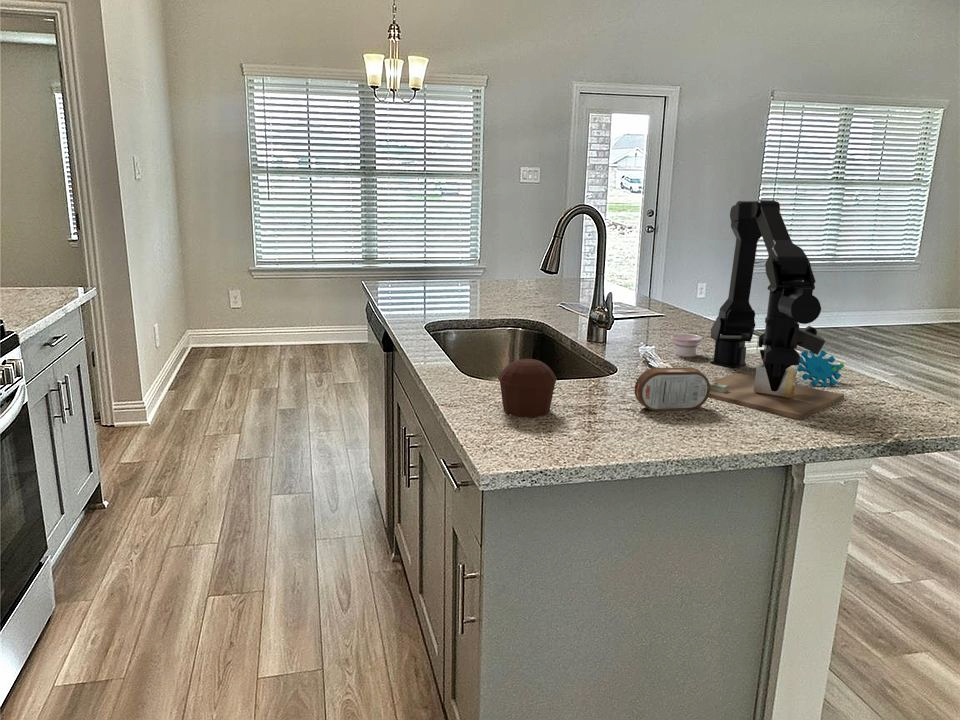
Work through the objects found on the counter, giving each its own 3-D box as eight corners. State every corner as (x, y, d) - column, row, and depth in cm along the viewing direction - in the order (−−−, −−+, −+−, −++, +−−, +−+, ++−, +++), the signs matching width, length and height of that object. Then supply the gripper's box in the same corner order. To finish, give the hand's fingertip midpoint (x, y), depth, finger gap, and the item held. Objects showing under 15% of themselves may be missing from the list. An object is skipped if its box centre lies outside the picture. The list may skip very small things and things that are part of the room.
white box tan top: (753, 391, 148) (756, 366, 146) (757, 388, 150) (760, 363, 149) (790, 398, 143) (793, 371, 142) (793, 395, 146) (797, 369, 145)
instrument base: (687, 393, 150) (688, 381, 150) (736, 376, 165) (738, 365, 164) (800, 420, 133) (801, 406, 133) (843, 399, 148) (845, 386, 147)
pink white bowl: (710, 366, 176) (712, 342, 174) (661, 363, 178) (663, 339, 176) (704, 356, 187) (707, 333, 186) (659, 353, 189) (660, 330, 188)
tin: (702, 406, 141) (706, 365, 140) (710, 410, 138) (714, 369, 136) (632, 408, 139) (635, 367, 137) (638, 413, 136) (641, 371, 134)
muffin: (521, 398, 144) (522, 351, 142) (566, 409, 137) (569, 360, 135) (485, 411, 135) (486, 361, 133) (531, 424, 128) (533, 371, 126)
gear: (806, 385, 155) (793, 346, 160) (793, 397, 160) (782, 359, 165) (853, 385, 156) (839, 346, 161) (839, 397, 161) (826, 359, 166)
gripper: (833, 325, 132) (822, 404, 136) (817, 310, 149) (808, 381, 153) (770, 321, 135) (761, 398, 139) (762, 307, 153) (754, 376, 156)
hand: (773, 388), depth 147 cm, fingers closed on white box tan top, 4 cm apart
